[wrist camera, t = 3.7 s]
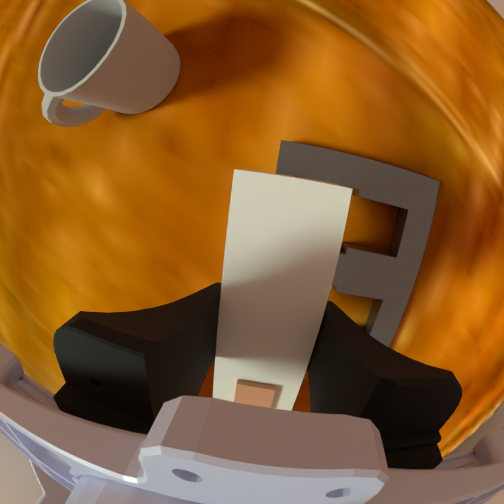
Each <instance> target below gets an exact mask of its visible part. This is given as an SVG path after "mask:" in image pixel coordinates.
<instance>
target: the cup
mask: <svg viewBox="0 0 504 504" xmlns="http://www.w3.org/2000/svg"><path fill="white" fill-rule="evenodd" d="M180 65H181V61H180V57H179V53H178V52H177V50H176V49H175V47H174V46H173V45H172V43H171V42H170V41H169V40H168V39H167V38H166V37H165V36H164V35H162V34H161V33H160V32H159V31H158V30H157V29H156V28H155V27H154V26H153V25H152V24H151V23H150V22H149V21H147V20H146V19H145V18H144V17H143V16H142V15H141V14H140V13H138V12H137V11H136V10H135V9H134V8H133V7H132V6H130V5H129V4H128V3H127V2H126V1H125V0H88V1H86V2H84V3H82V4H81V5H79V6H78V7H77V8H75V9H74V10H73V11H71V12H70V13H69V14H68V15H67V16H66V17H65V18H64V19H63V20H62V21H61V23H60V24H59V25H58V26H57V28H56V29H55V30H54V32H53V33H52V35H51V36H50V38H49V40H48V42H47V43H46V45H45V48H44V50H43V53H42V55H41V59H40V63H39V68H38V80H39V84H40V88H41V89H42V90H43V92H44V93H45V95H44V98H43V101H42V112H43V116H44V117H45V118H46V119H47V120H48V121H49V122H51V123H53V124H56V125H58V126H63V127H74V126H80V125H83V124H86V123H88V122H90V121H92V120H94V119H96V118H97V117H98V116H99V115H101V114H102V113H103V112H104V111H105V110H106V109H108V110H112V111H116V112H119V113H125V114H137V113H142V112H145V111H147V110H149V109H151V108H153V107H155V106H156V105H157V104H159V103H160V102H162V101H163V100H164V99H165V97H166V96H167V95H168V94H169V93H170V92H171V90H172V89H173V87H174V85H175V84H176V82H177V79H178V76H179V73H180ZM64 99H66V100H71V101H76V102H80V103H84V104H86V105H83V106H80V107H67V106H64V105H63V104H62V102H63V100H64Z"/></svg>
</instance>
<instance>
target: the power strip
mask: <svg viewBox="0 0 504 504" xmlns="http://www.w3.org/2000/svg"><path fill="white" fill-rule="evenodd" d="M351 193H352V189H351V188H348V187H345V186H341V185H338V184H334V183H329V182H324V181H318V180H313V179H307V178H302V177H296V176H289V175H283V174H277V173H270V172H263V171H255V170H241V169H234V176H233V184H232V192H231V200H230V209H229V218H228V227H227V236H226V245H225V255H224V264H223V274H222V285H221V296H220V307H219V318H218V330H217V342H216V355H215V369H214V384H213V398H218V399H223V400H227V401H232V402H237V403H243V404H248V405H254V406H260V407H267V408H274V409H281V410H290V411H291V410H292V408H293V405H294V402H295V400H296V397H297V394H298V392H299V389H300V386H301V383H302V381H303V378H304V375H305V372H306V369H307V366H308V363H309V360H310V357H311V354H312V351H313V348H314V345H315V342H316V338H317V335H318V332H319V329H320V325H321V322H322V318H323V315H324V311H325V308H326V304H327V301H328V297H329V293H330V289H331V286H332V282H333V278H334V274H335V270H336V266H337V261H338V257H339V253H340V248H341V244H342V239H343V235H344V230H345V225H346V220H347V215H348V210H349V204H350V199H351Z"/></svg>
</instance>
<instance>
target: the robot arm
mask: <svg viewBox="0 0 504 504" xmlns="http://www.w3.org/2000/svg"><path fill="white" fill-rule="evenodd" d="M221 285H222V283H218V282H217V283H214V284H212V285H210V286H208V287H206V288H204V289H202V290H200V291H198V292H196V293H194V294H192V295H189V296H187V297H185V298H182V299H180V300H177V301H175V302H172V303H169V304H165V305H162V306H158V307H154V308H149V309H143V310H137V311H129V312H113V313H103V312H85V311H80V312H79V313H77V314H76V315H75V316H73V317H72V318H71V319H70V320H68V321H67V322H66V323H65V324H63V325H62V326H61V327H60V328H58V329H57V330H56V332H55V334H54V343H53V344H54V349H55V354H56V357H57V360H58V363H59V366H60V368H61V371H62V374H63V376H64V379H65V381H66V383H65V384H64V385H63V386H62V388H61V389H60V390H59V391H58V392H57V393H56V394H55V395H54V394H53V393H51V392H50V391H48V390H47V389H45V388H44V387H42V386H41V385H39V384H38V383H36V382H35V381H33V380H32V379H31V378H29V377H28V376H27V375H25V374H24V371H23V368H22V366H21V363H20V362H19V360H18V358H17V357H16V356H15V355H14V354H13V353H12V352H11V351H9V350H8V349H7V348H6V347H4V346H3V345H2V344H0V432H1V433H2V434H3V435H4V436H5V437H6V438H7V439H8V440H9V441H10V442H11V443H12V444H13V445H14V446H15V447H16V448H17V449H19V450H20V451H21V452H22V453H23V454H24V455H25V456H26V457H27V458H29V460H30V463H31V466H32V468H33V470H34V473H35V475H36V477H37V479H38V481H39V483H40V486H41V488H42V490H43V493H42V495H41V496H40V498H39V499H38V500H37V502H36V503H35V504H484V503H485V502H487V501H488V500H489V499H491V498H492V497H493V496H495V495H496V494H497V493H499V492H500V491H501V490H502V489H504V428H501V429H498V430H496V431H493V432H490V433H489V434H487V435H485V436H484V437H483V438H482V439H481V440H480V441H479V442H478V443H477V444H476V445H475V446H474V448H473V449H470V450H467V451H464V452H461V453H457V454H454V455H450V456H447V457H443V458H442V456H441V453H440V450H439V448H438V445H437V443H439V442H440V441H441V435H440V433H439V430H440V429H441V427H442V426H443V425H444V424H445V423H446V421H447V420H448V419H449V418H450V416H451V415H452V414H453V412H454V411H455V409H456V408H457V406H458V405H459V402H460V400H461V397H462V388H461V386H460V384H459V382H458V381H457V379H456V377H455V376H454V374H453V372H451V371H448V370H444V369H440V368H436V367H433V366H429V365H426V364H424V363H421V362H418V361H416V360H413V359H411V358H408V357H406V356H404V355H402V354H400V353H398V352H396V351H394V350H392V349H391V348H389V347H387V346H385V345H384V344H382V343H381V342H379V341H378V340H376V339H375V338H373V337H372V336H371V335H369V334H368V333H367V332H366V331H364V330H363V329H362V328H361V327H359V326H358V325H357V324H356V323H355V322H354V321H353V320H351V319H350V318H349V317H348V316H347V315H346V314H345V313H344V312H343V311H342V310H341V309H340V308H339V307H338V306H336V305H335V304H334V303H333V302H331V301H327V304H326V308H325V311H324V315H323V318H322V322H321V325H320V329H319V332H318V335H317V338H316V342H315V345H314V348H313V351H312V354H311V357H310V360H309V363H308V366H307V372H308V380H309V389H310V401H311V412H299V411H290V410H281V409H274V408H267V407H260V406H254V405H248V404H243V403H237V402H232V401H227V400H223V399H218V398H212V397H198V393H199V391H200V388H201V385H202V383H203V380H204V378H205V376H206V374H207V372H208V370H209V368H210V366H211V364H212V362H213V360H214V358H215V355H216V342H217V330H218V318H219V307H220V296H221Z"/></svg>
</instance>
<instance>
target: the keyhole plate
mask: <svg viewBox="0 0 504 504" xmlns="http://www.w3.org/2000/svg"><path fill="white" fill-rule="evenodd" d="M276 173H277V174H283V175H289V176H299V177H304V178H309V179H314V180H319V181H324V182H329V183H334V184H338V185H342V186H347V187H351V188H354V190H353V195H355V196H358V197H362V198H366V199H370V200H374V201H378V202H382V203H386V204H390V205H393V206H397V207H400V209H399V214H398V218H397V223H396V227H395V231H394V235H393V239H392V243H391V247H390V251H384V250H379V249H375V248H370V247H365V246H360V245H355V244H350V243H345V242H343V243H342V247H341V248H340V253H339V257H338V261H337V266H336V270H335V274H334V278H333V282H332V285H333V287H334V290H335V292H337V293H343V294H350V295H356V296H362V297H369V298H375V300H374V303H373V306H372V308H371V311H370V314H369V317H368V319H367V322H366V325H365V327H364V328H362V329H363V330H364V331H366V332H367V333H368V334H369V335H371V336H372V337H373V338H375V339H376V340H378V341H379V342H381V343H382V344H384V345H385V346H387V347H389V346H390V344H391V342H392V339H393V337H394V335H395V333H396V330H397V328H398V326H399V323H400V321H401V318H402V316H403V313H404V311H405V308H406V306H407V303H408V300H409V298H410V295H411V292H412V289H413V286H414V283H415V280H416V277H417V274H418V271H419V268H420V265H421V261H422V258H423V255H424V251H425V247H426V244H427V240H428V236H429V232H430V228H431V224H432V219H433V215H434V210H435V205H436V200H437V195H438V189H439V183H440V182H439V181H437V180H434V179H431V178H428V177H426V176H423V175H420V174H417V173H414V172H411V171H408V170H405V169H402V168H398V167H395V166H392V165H389V164H385V163H382V162H378V161H375V160H371V159H367V158H363V157H360V156H356V155H352V154H348V153H343V152H339V151H335V150H330V149H326V148H321V147H316V146H311V145H306V144H300V143H295V142H289V141H283V140H281V144H280V150H279V157H278V163H277V169H276Z"/></svg>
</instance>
